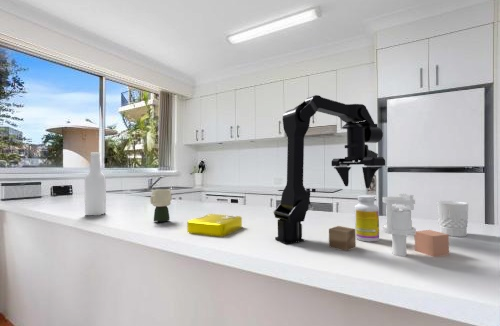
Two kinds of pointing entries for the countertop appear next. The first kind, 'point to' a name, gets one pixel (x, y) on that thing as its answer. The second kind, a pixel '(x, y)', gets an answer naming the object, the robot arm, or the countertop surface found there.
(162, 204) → the cream and green figurine
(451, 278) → the countertop surface
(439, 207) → the white cup
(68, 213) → the countertop surface
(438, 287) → the countertop surface
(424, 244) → the terracotta block
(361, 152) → the robot arm
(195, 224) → the element tile
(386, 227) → the white stepped column
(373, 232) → the supplement bottle
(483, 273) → the countertop surface
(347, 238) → the walnut block
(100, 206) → the alcohol
